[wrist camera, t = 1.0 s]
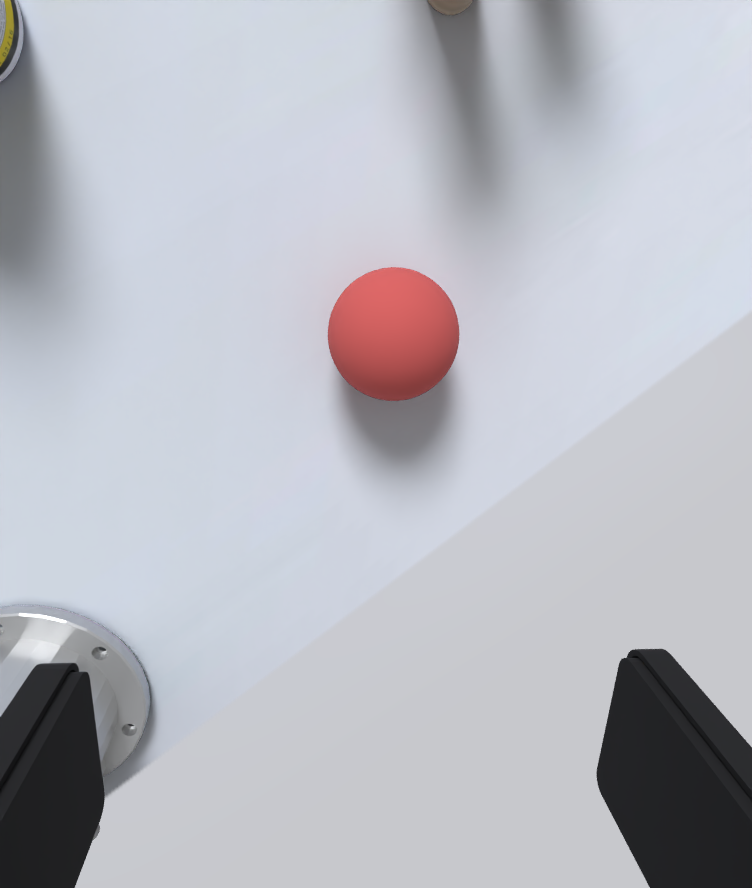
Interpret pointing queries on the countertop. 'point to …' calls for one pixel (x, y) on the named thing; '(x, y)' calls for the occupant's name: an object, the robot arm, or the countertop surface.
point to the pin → (450, 6)
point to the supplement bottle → (10, 36)
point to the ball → (393, 334)
